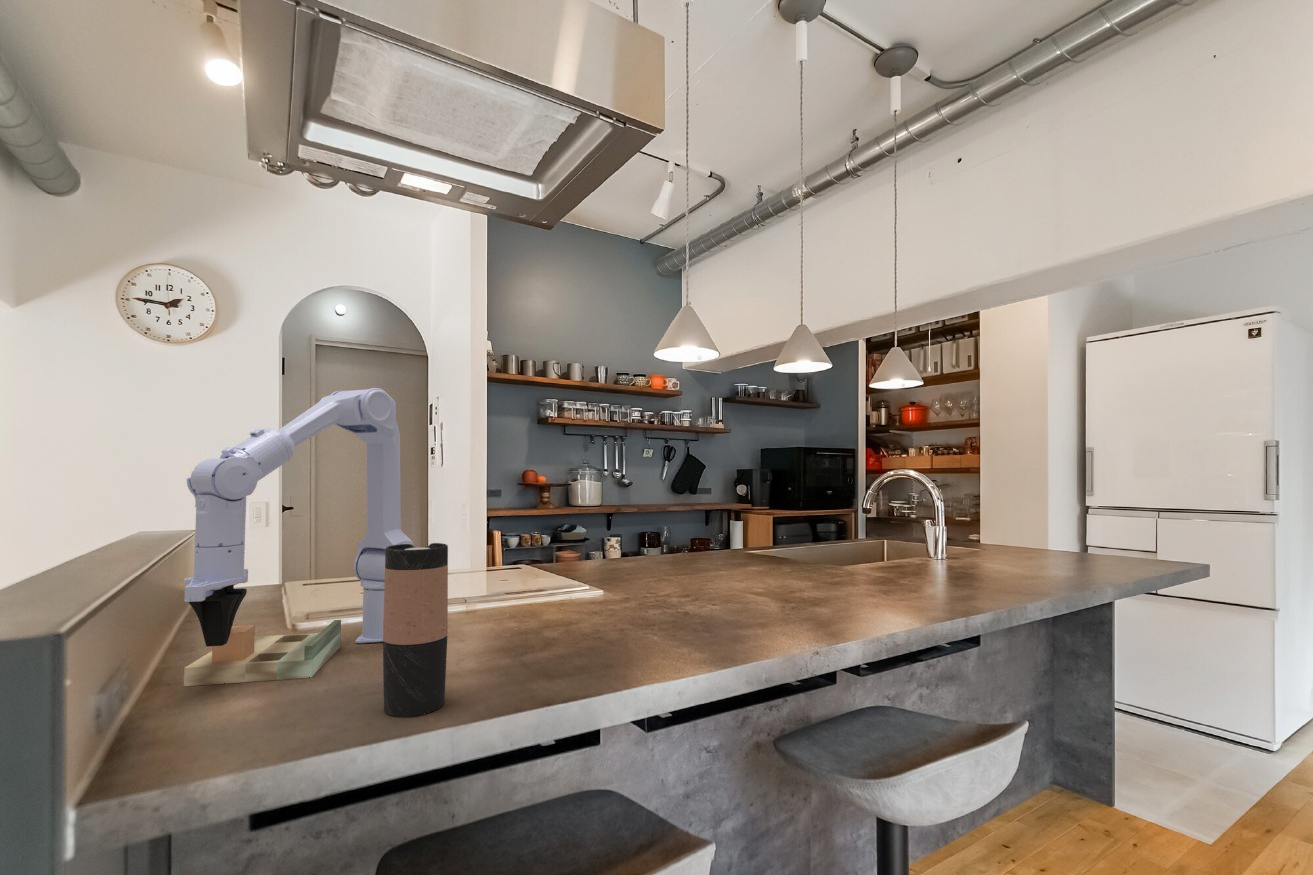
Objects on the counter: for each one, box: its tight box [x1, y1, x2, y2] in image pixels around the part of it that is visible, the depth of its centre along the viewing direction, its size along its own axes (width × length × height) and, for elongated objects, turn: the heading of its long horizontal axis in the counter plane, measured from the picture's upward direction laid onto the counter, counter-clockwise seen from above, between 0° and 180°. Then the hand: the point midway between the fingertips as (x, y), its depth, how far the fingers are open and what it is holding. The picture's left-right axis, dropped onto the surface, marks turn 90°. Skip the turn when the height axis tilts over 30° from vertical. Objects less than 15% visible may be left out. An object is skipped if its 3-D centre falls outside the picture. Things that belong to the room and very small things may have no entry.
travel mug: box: [382, 542, 449, 718], centre depth 80 cm, size 8×8×20 cm
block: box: [211, 624, 256, 662], centre depth 92 cm, size 4×4×4 cm
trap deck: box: [183, 619, 342, 687], centre depth 97 cm, size 16×16×4 cm
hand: (216, 644), depth 87 cm, fingers closed
